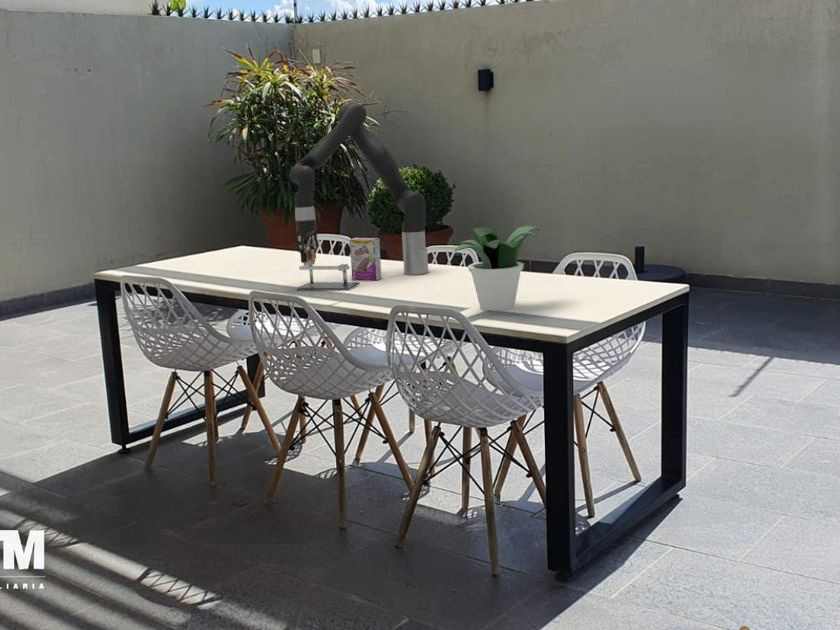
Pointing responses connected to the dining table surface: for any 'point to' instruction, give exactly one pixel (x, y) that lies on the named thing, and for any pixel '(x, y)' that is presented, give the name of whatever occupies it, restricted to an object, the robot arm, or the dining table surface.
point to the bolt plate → (329, 285)
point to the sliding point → (310, 262)
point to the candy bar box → (365, 258)
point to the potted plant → (496, 267)
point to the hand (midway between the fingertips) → (308, 260)
